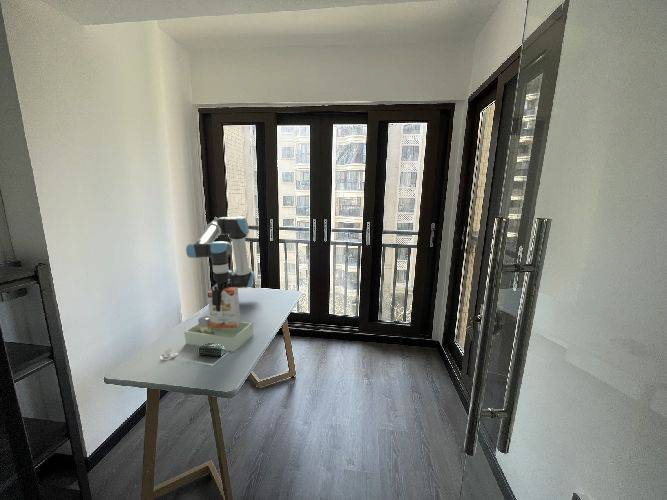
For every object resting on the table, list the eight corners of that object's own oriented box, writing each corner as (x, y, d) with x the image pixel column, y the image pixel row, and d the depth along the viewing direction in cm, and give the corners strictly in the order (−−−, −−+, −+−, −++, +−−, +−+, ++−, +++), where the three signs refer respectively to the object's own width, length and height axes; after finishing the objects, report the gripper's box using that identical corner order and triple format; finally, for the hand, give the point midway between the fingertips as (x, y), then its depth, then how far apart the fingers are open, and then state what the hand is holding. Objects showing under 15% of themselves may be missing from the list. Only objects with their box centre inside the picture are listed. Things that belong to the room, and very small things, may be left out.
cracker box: (210, 328, 145) (206, 290, 141) (215, 323, 150) (211, 286, 147) (236, 328, 144) (233, 290, 140) (241, 323, 150) (238, 286, 146)
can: (206, 333, 157) (204, 315, 155) (217, 334, 155) (215, 316, 153) (197, 339, 150) (195, 320, 148) (208, 341, 148) (206, 322, 146)
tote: (209, 329, 163) (207, 317, 161) (253, 335, 155) (252, 323, 153) (185, 344, 146) (184, 331, 145) (234, 352, 138) (232, 338, 137)
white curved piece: (180, 357, 136) (179, 349, 135) (162, 363, 131) (161, 355, 130) (176, 349, 142) (175, 342, 141) (158, 356, 137) (157, 348, 136)
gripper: (226, 266, 152) (230, 305, 156) (200, 276, 133) (205, 320, 138) (238, 267, 150) (242, 307, 154) (214, 277, 131) (218, 322, 136)
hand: (224, 313), depth 146 cm, fingers closed on cracker box, 7 cm apart
